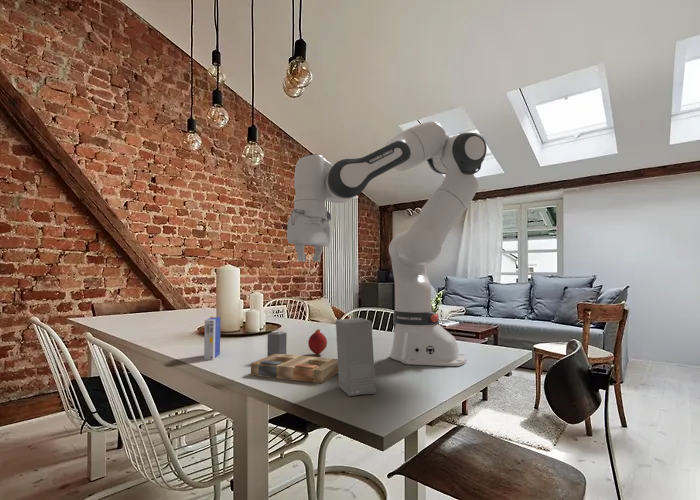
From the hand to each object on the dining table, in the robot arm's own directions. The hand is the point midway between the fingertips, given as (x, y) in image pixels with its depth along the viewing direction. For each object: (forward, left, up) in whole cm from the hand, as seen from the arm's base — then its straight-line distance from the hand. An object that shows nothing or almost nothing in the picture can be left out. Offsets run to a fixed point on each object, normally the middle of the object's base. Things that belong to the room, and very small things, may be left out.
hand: (309, 261), depth 110 cm
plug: (+12, -3, -29) cm, 32 cm away
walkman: (+33, 0, -29) cm, 44 cm away
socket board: (0, +7, -29) cm, 30 cm away
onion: (+4, -14, -29) cm, 33 cm away
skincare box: (-19, +15, -29) cm, 38 cm away
